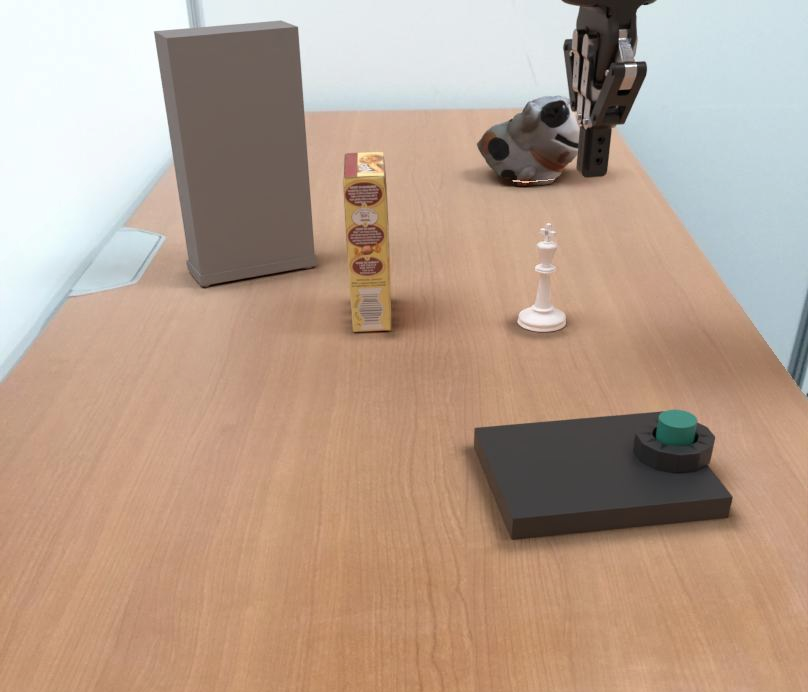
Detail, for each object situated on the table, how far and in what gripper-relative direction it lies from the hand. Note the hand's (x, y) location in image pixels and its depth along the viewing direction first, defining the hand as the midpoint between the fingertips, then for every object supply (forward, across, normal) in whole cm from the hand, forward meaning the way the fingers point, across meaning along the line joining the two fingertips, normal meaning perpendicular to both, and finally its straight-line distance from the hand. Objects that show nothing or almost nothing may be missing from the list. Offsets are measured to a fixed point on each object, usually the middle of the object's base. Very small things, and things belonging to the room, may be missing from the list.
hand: (591, 174), depth 80 cm
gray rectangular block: (+18, +32, +28) cm, 46 cm away
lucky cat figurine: (+17, +62, -14) cm, 66 cm away
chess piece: (+17, +10, 0) cm, 20 cm away
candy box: (+18, +15, +17) cm, 29 cm away
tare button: (+14, -20, -1) cm, 25 cm away
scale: (+17, -20, +5) cm, 27 cm away
